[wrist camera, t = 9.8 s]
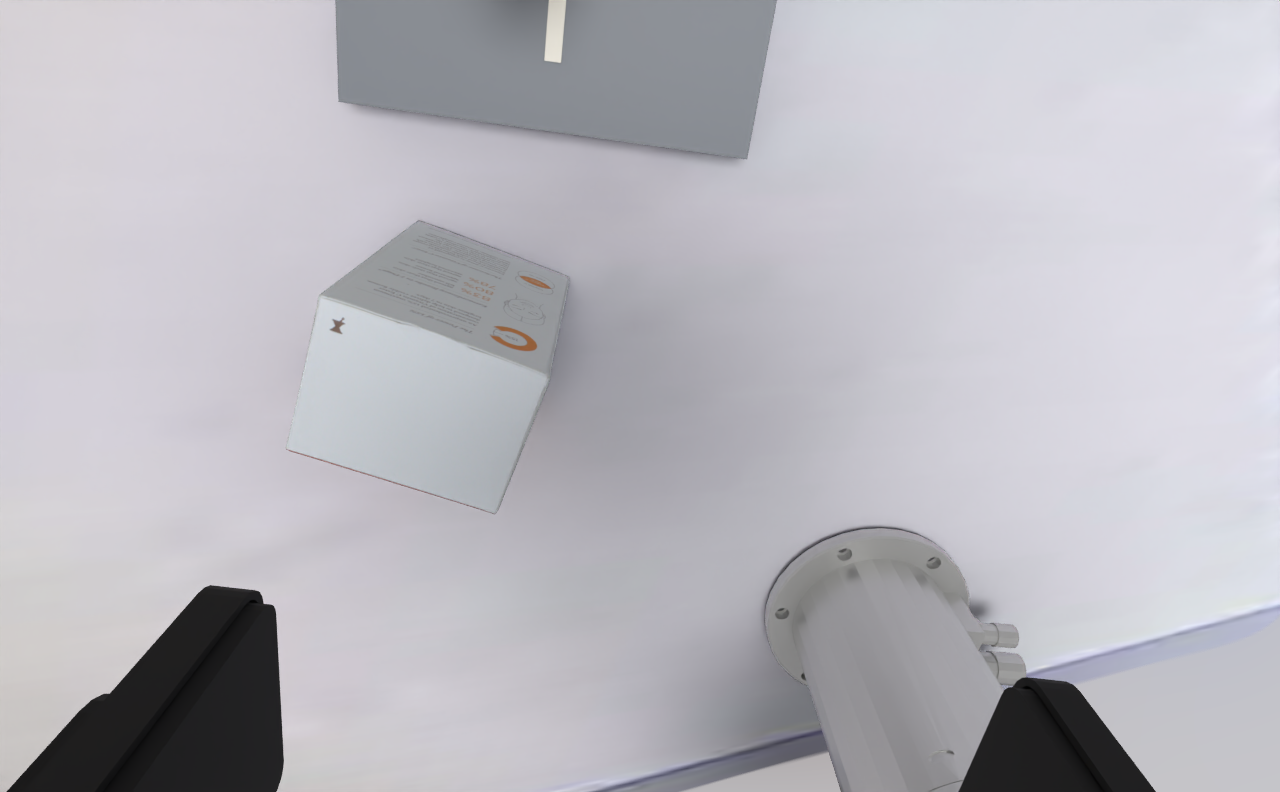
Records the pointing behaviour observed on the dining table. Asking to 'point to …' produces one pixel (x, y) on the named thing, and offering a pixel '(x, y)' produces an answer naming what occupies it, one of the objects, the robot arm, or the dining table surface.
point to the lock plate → (565, 65)
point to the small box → (430, 365)
